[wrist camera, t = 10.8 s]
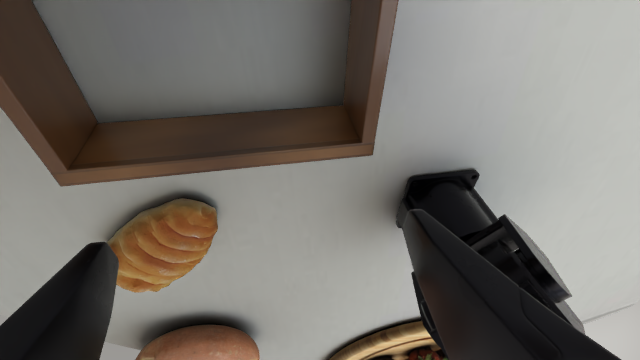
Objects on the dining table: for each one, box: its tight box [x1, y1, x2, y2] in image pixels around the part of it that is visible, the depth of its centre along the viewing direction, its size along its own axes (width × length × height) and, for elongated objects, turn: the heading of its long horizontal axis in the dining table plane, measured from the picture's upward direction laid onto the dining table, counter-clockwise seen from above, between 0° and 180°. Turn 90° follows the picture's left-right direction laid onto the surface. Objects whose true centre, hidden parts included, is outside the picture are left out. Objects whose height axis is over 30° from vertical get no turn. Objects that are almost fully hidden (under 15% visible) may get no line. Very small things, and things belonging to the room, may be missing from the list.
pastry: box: [106, 198, 218, 292], centre depth 24 cm, size 9×7×4 cm
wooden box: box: [0, 0, 398, 186], centre depth 15 cm, size 17×11×4 cm, turn 89°
